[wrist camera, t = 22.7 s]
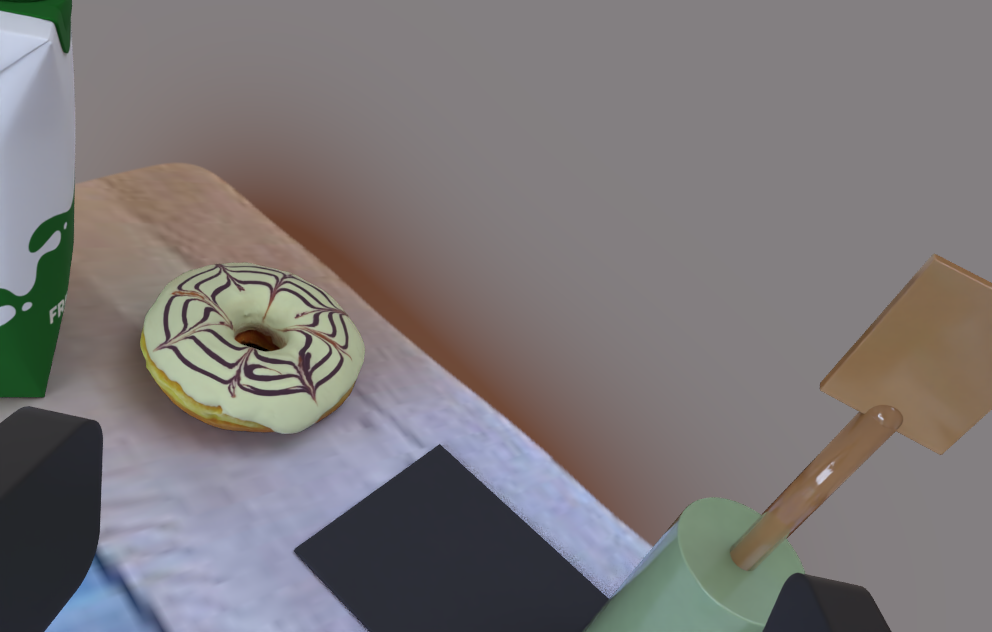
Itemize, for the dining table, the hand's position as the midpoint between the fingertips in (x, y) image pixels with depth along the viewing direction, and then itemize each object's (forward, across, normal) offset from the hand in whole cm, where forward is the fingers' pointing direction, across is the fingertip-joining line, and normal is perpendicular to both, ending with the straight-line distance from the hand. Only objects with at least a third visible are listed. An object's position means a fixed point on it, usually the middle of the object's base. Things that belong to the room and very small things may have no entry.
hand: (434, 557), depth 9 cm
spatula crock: (+20, -10, +21) cm, 30 cm away
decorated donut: (+30, +11, +15) cm, 35 cm away
